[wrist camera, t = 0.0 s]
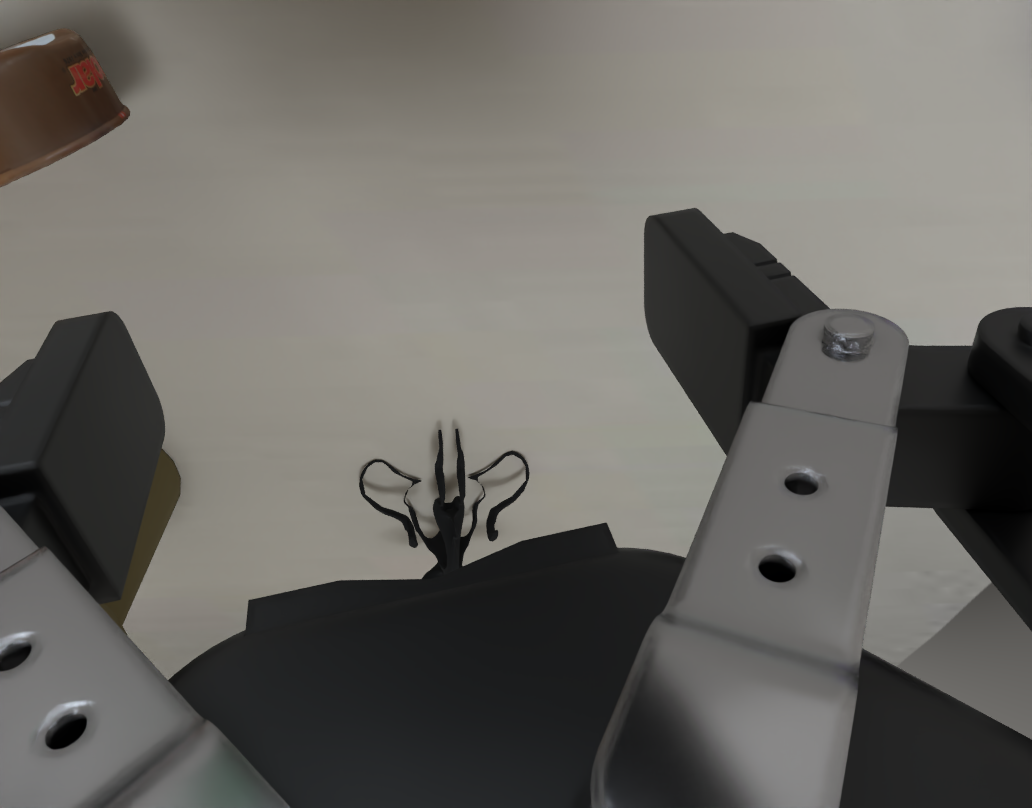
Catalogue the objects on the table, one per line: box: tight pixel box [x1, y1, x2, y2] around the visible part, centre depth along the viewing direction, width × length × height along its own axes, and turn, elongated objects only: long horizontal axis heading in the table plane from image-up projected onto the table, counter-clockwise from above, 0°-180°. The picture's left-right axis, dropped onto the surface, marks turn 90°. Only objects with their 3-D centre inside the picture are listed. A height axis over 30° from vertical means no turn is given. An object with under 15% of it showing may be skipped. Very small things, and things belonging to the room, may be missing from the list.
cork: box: [100, 449, 181, 635], centre depth 29 cm, size 6×6×11 cm
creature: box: [359, 429, 529, 579], centre depth 35 cm, size 8×5×8 cm
